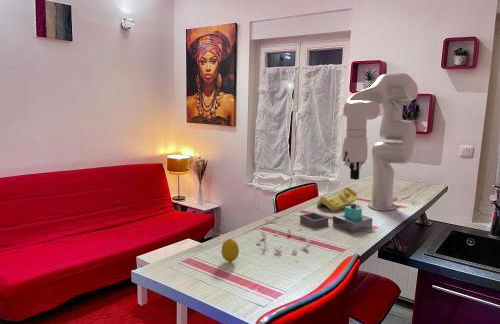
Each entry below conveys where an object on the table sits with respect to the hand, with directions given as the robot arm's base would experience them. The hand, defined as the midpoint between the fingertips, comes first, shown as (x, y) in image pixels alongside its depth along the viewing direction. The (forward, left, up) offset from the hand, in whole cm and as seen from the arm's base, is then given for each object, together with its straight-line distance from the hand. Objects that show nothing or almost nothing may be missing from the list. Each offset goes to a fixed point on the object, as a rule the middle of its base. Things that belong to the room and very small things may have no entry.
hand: (354, 178), depth 149 cm
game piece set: (+35, 0, -21) cm, 40 cm away
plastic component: (-17, -24, -21) cm, 36 cm away
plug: (0, 0, -20) cm, 20 cm away
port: (0, 0, -20) cm, 20 cm away
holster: (+11, -11, -20) cm, 25 cm away
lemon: (+59, +3, -20) cm, 62 cm away
